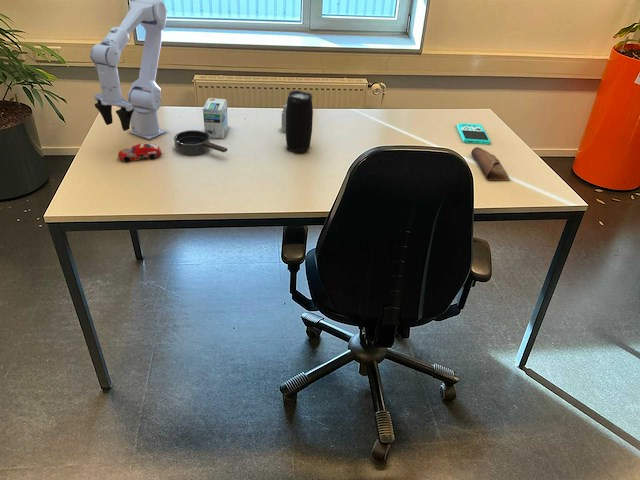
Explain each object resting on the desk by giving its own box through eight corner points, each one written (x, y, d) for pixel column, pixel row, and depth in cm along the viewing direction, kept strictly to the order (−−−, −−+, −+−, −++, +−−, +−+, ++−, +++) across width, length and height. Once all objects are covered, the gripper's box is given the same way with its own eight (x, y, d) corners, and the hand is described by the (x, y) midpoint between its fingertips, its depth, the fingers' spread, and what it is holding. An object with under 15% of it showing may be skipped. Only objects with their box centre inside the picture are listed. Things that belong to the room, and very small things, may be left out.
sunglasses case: (511, 179, 171) (506, 163, 167) (491, 188, 172) (485, 173, 169) (493, 154, 186) (487, 139, 182) (474, 163, 187) (468, 148, 183)
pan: (168, 149, 175) (166, 138, 173) (191, 138, 184) (190, 127, 182) (194, 159, 171) (193, 148, 169) (217, 146, 179) (216, 136, 177)
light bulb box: (223, 139, 185) (221, 109, 178) (204, 137, 185) (202, 108, 178) (228, 126, 193) (227, 98, 187) (210, 125, 193) (208, 97, 187)
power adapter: (296, 132, 193) (297, 101, 186) (281, 132, 192) (281, 100, 185) (296, 129, 195) (297, 98, 188) (281, 128, 195) (282, 97, 188)
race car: (119, 163, 166) (117, 152, 164) (118, 155, 170) (116, 144, 168) (162, 159, 170) (160, 147, 168) (160, 151, 174) (158, 140, 172)
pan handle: (203, 145, 173) (203, 143, 172) (207, 143, 174) (207, 141, 174) (224, 152, 170) (223, 150, 169) (227, 150, 171) (227, 148, 170)
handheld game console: (481, 127, 207) (482, 123, 206) (490, 144, 194) (491, 141, 193) (455, 125, 207) (456, 122, 206) (463, 142, 194) (464, 139, 193)
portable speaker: (315, 147, 184) (318, 92, 172) (302, 157, 177) (304, 101, 165) (293, 141, 186) (295, 87, 175) (280, 151, 180) (281, 95, 168)
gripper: (83, 83, 160) (91, 125, 168) (117, 94, 155) (124, 136, 163) (101, 77, 165) (109, 118, 173) (135, 87, 160) (141, 129, 168)
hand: (117, 126), depth 168 cm, fingers open, 7 cm apart
